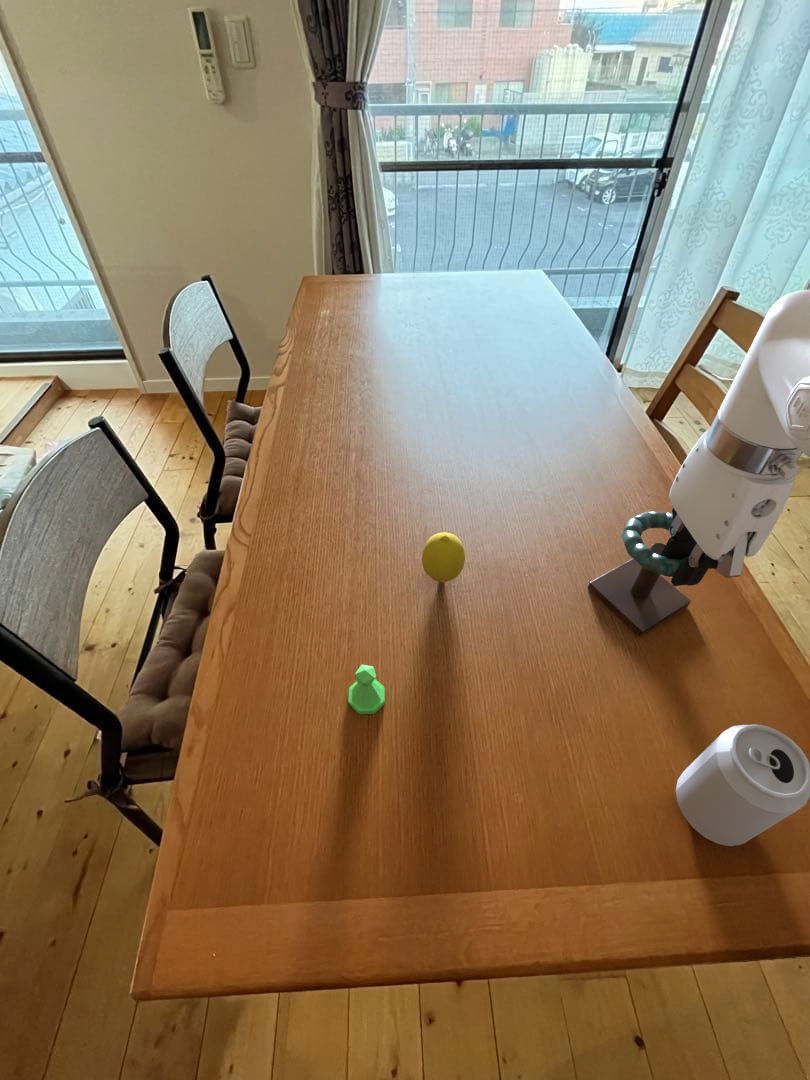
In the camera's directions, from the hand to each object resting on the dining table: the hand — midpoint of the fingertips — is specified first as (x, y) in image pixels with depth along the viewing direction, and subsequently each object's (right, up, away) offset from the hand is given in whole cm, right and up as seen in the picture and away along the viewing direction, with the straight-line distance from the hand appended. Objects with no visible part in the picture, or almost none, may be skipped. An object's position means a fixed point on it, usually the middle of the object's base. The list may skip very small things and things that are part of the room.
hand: (678, 571), depth 63 cm
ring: (0, +3, +2) cm, 4 cm away
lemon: (-26, -2, +12) cm, 29 cm away
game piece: (-35, -14, 0) cm, 38 cm away
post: (-1, -4, +10) cm, 10 cm away
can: (-1, -23, -8) cm, 24 cm away
